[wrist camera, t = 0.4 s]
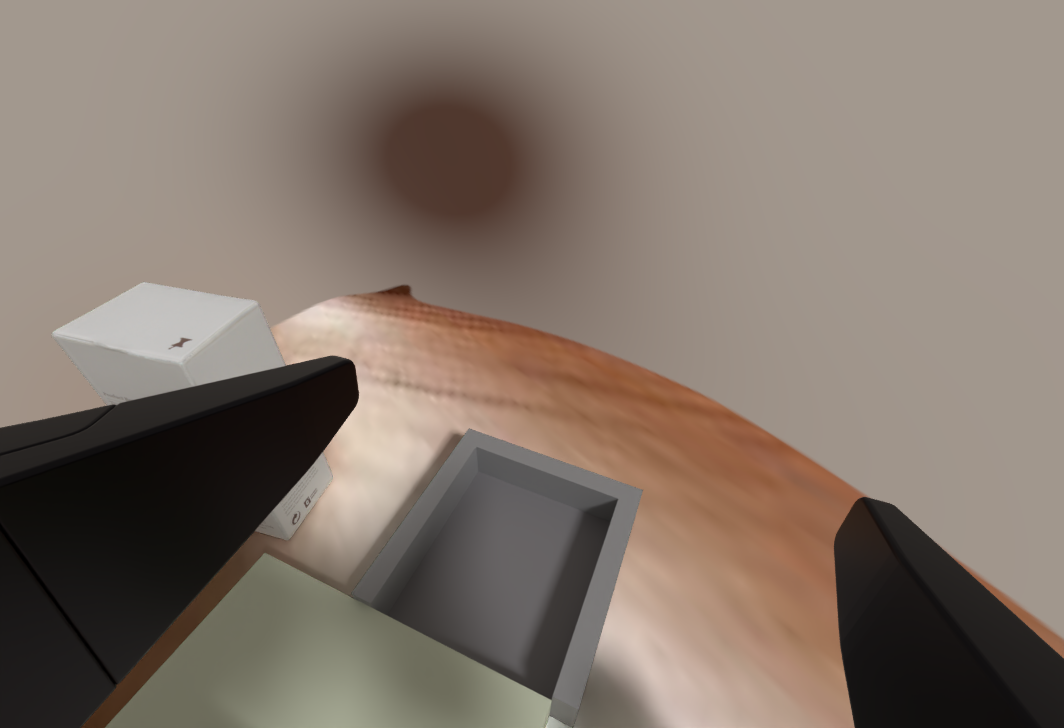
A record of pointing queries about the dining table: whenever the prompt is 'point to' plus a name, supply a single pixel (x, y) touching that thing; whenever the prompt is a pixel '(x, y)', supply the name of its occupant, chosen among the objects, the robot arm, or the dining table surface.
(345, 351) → the dining table surface
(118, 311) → the skincare box
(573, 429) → the dining table surface
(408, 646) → the fixture base
